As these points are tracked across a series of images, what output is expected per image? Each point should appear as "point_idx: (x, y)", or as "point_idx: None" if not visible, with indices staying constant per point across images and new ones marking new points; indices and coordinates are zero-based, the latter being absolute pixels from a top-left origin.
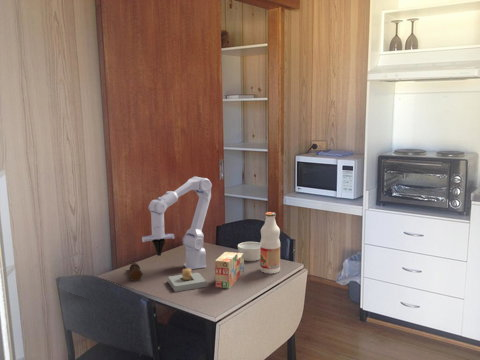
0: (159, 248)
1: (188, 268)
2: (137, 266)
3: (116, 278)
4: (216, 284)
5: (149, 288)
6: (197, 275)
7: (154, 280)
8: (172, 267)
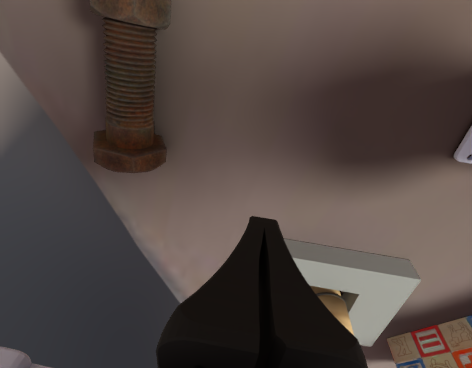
0: (259, 300)
1: (465, 154)
2: (143, 25)
3: (38, 65)
4: (392, 350)
5: (182, 249)
6: (387, 301)
7: (222, 193)
8: (413, 50)
